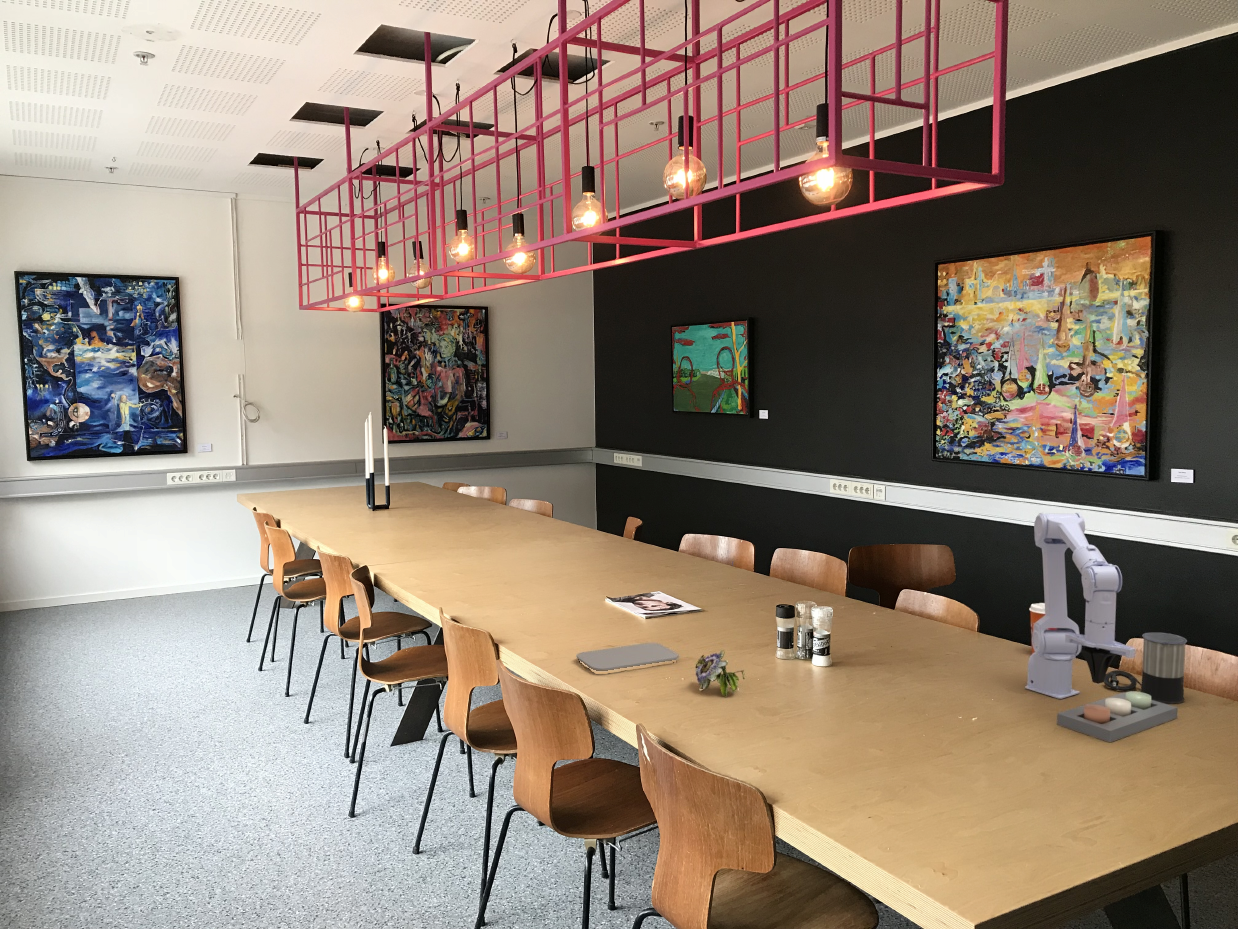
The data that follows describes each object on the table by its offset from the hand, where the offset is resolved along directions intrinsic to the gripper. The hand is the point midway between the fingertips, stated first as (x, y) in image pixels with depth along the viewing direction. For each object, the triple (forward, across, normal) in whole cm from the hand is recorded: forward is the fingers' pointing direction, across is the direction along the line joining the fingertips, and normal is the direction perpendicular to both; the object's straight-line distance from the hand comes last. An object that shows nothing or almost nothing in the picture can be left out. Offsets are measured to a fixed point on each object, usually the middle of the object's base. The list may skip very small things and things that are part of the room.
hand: (1098, 682), depth 195 cm
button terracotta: (+9, 0, 0) cm, 9 cm away
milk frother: (+11, -7, +31) cm, 33 cm away
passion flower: (+11, -65, -54) cm, 85 cm away
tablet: (+11, -97, -61) cm, 115 cm away
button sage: (+9, 0, +16) cm, 18 cm away
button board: (+10, 0, +8) cm, 13 cm away
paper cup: (+11, -39, +39) cm, 56 cm away
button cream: (+9, 0, +8) cm, 12 cm away
